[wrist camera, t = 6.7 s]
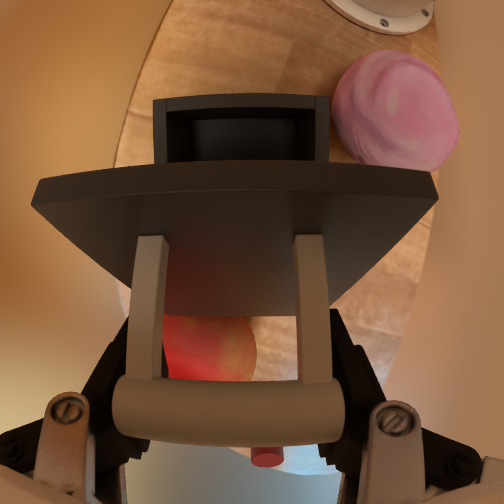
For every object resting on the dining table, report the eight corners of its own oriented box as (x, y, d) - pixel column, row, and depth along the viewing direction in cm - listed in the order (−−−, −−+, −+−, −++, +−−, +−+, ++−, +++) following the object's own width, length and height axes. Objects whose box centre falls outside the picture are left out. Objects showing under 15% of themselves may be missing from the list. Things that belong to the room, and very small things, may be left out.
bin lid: (39, 178, 6) (0, 420, 4) (429, 170, 6) (470, 433, 4) (167, 303, 18) (164, 394, 16) (319, 302, 18) (322, 395, 16)
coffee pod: (250, 428, 35) (250, 454, 31) (282, 427, 35) (285, 453, 31) (251, 443, 37) (251, 467, 33) (280, 443, 37) (282, 466, 33)
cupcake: (349, 52, 20) (402, 12, 10) (422, 116, 21) (495, 115, 12) (292, 128, 22) (320, 120, 13) (371, 190, 24) (433, 221, 15)
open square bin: (184, 112, 22) (152, 99, 14) (303, 111, 22) (329, 96, 14) (191, 257, 26) (168, 305, 19) (299, 256, 26) (318, 305, 19)
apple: (204, 368, 31) (192, 440, 22) (141, 312, 28) (104, 379, 19) (274, 325, 29) (282, 401, 20) (208, 256, 26) (187, 320, 17)
